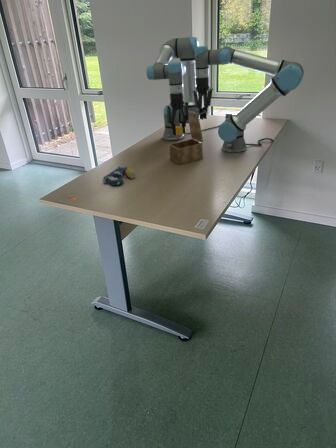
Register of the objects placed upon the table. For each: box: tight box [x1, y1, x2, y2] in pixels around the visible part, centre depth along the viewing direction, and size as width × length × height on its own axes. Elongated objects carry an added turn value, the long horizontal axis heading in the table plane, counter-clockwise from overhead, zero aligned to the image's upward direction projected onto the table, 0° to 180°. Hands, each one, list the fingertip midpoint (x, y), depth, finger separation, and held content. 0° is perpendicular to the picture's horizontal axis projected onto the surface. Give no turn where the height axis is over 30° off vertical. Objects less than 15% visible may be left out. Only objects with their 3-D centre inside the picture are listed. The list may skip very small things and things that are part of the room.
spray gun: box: [102, 165, 136, 187], centre depth 189 cm, size 21×4×15 cm
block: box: [176, 126, 183, 135], centre depth 198 cm, size 4×4×4 cm
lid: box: [188, 110, 208, 143], centre depth 203 cm, size 18×11×9 cm
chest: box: [168, 138, 204, 166], centre depth 207 cm, size 17×11×10 cm
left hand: (178, 133), depth 199 cm, fingers closed on block, 5 cm apart
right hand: (203, 118), depth 202 cm, fingers closed on lid, 2 cm apart
